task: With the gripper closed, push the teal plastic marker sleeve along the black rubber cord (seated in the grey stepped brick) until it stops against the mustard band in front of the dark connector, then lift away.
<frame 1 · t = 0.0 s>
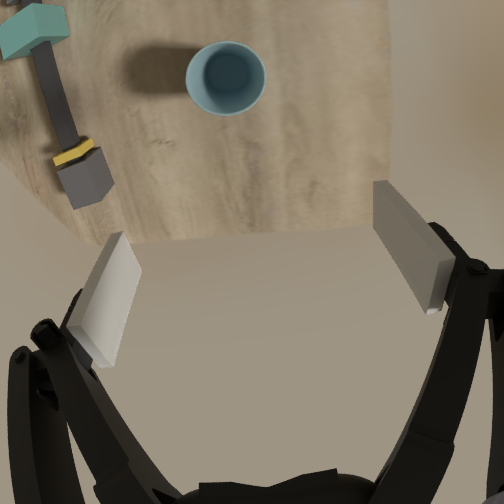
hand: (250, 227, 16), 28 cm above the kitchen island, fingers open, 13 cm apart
sleeve: (33, 30, 24), point 4 cm above the kitchen island, slide at 0.0 cm
cord: (62, 78, 33), resting on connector
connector: (94, 170, 41), on the kitchen island
cup: (228, 72, 35), on the kitchen island
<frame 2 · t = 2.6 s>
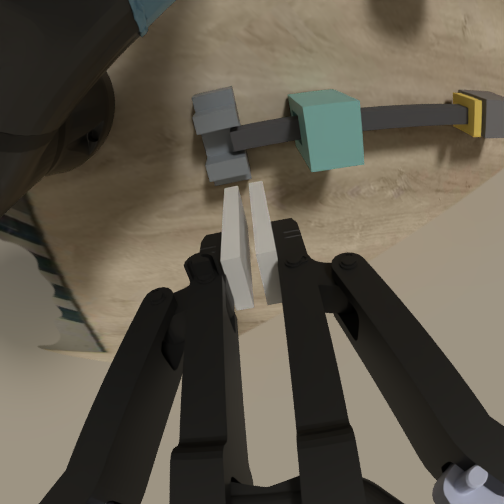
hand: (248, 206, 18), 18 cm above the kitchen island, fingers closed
grey stepped brick: (223, 133, 33), on the kitchen island
sleeve: (323, 125, 29), point 4 cm above the kitchen island, slide at 0.0 cm
cord: (379, 109, 32), resting on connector
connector: (474, 107, 31), on the kitchen island
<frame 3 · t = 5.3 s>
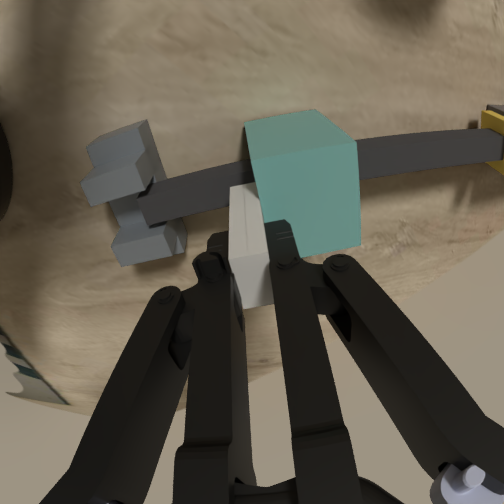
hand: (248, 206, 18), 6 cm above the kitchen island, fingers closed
grey stepped brick: (143, 187, 23), on the kitchen island
sleeve: (298, 175, 19), point 4 cm above the kitchen island, slide at 1.0 cm, touching gripper
cord: (375, 138, 22), resting on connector
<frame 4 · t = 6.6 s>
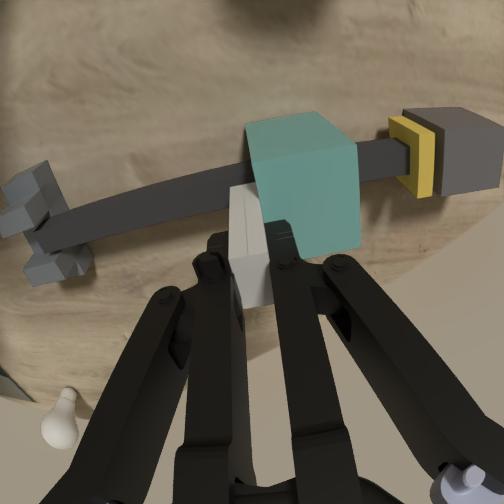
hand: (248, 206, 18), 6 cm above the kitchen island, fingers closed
grey stepped brick: (53, 217, 24), on the kitchen island
sleeve: (298, 177, 19), point 4 cm above the kitchen island, slide at 10.4 cm, touching gripper
lightbulb: (71, 386, 41), on the kitchen island
cord: (254, 161, 23), resting on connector
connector: (434, 135, 22), on the kitchen island
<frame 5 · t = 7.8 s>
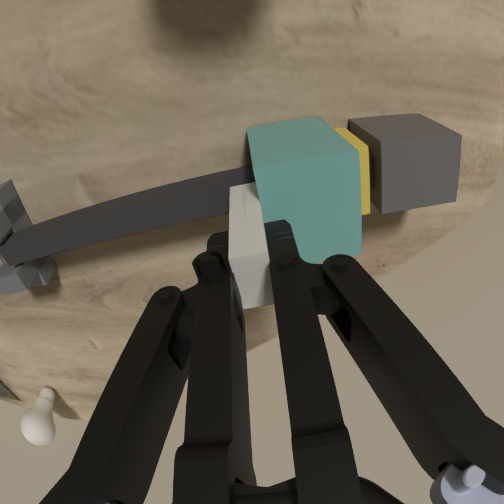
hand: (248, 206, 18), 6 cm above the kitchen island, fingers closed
grey stepped brick: (20, 230, 24), on the kitchen island
sleeve: (299, 183, 19), point 4 cm above the kitchen island, slide at 15.2 cm, touching gripper
lightbulb: (50, 386, 41), on the kitchen island
cord: (192, 179, 23), resting on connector
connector: (387, 145, 22), on the kitchen island
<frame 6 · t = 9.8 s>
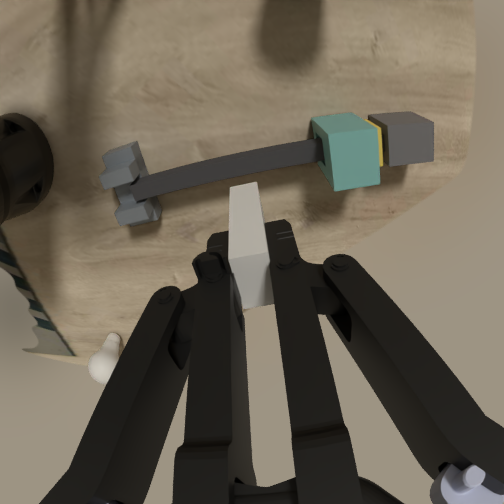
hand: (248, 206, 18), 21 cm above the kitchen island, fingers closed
grey stepped brick: (135, 180, 38), on the kitchen island
sleeve: (344, 148, 32), point 4 cm above the kitchen island, slide at 15.2 cm
lightbulb: (115, 333, 55), on the kitchen island
cord: (275, 147, 36), resting on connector
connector: (391, 130, 35), on the kitchen island
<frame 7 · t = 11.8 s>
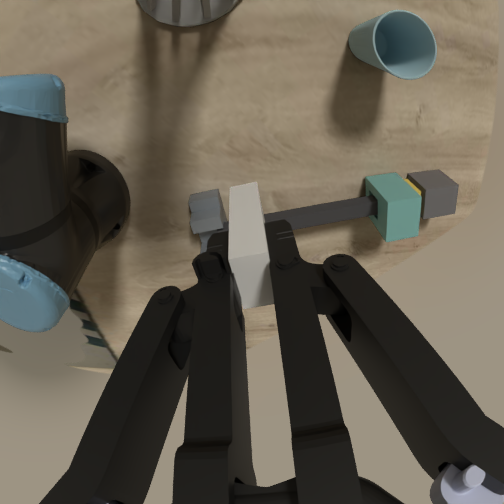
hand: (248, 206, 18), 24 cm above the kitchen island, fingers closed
grey stepped brick: (213, 222, 46), on the kitchen island
sleeve: (391, 205, 41), point 4 cm above the kitchen island, slide at 15.2 cm
cord: (335, 199, 45), resting on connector
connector: (423, 185, 44), on the kitchen island
cup: (367, 43, 32), on the kitchen island
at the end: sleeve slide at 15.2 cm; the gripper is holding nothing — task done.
